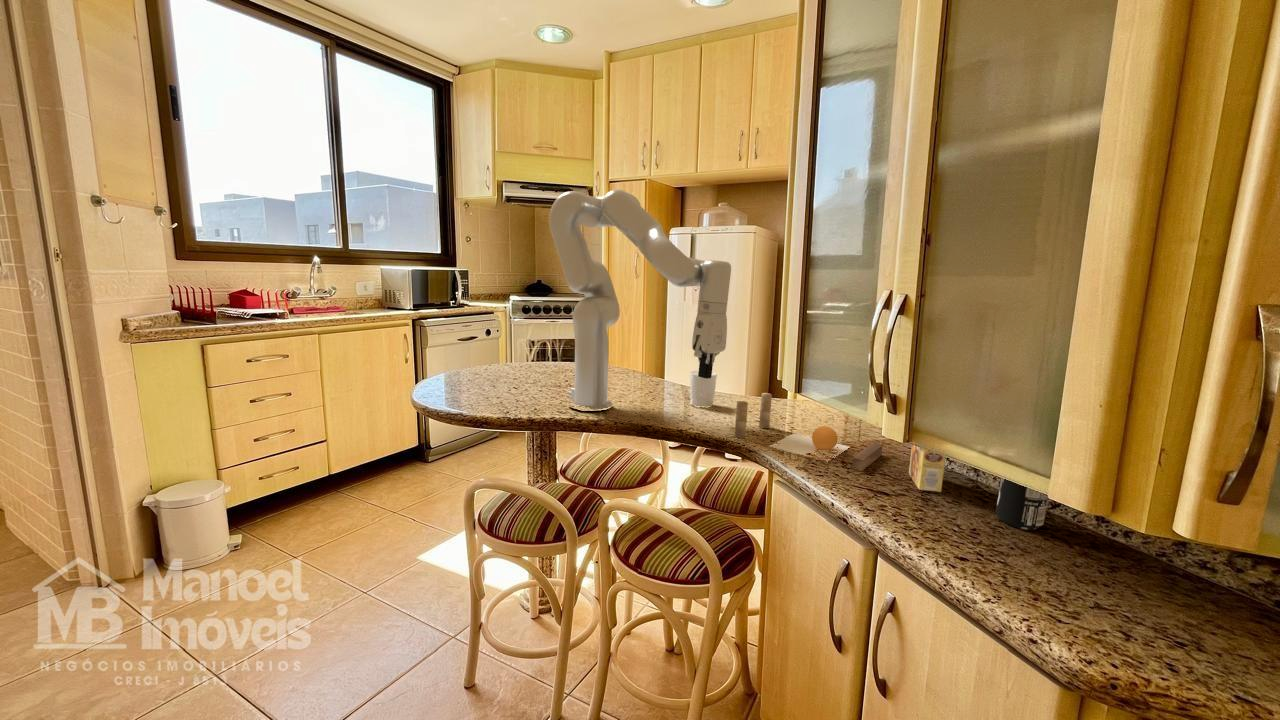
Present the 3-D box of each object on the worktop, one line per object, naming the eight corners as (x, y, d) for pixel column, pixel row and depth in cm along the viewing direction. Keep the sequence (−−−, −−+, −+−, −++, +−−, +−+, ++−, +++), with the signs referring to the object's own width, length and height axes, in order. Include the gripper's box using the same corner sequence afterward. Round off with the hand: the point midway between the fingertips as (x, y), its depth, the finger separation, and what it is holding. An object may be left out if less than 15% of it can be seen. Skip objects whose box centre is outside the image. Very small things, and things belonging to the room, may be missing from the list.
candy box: (942, 493, 99) (953, 415, 96) (917, 490, 100) (928, 413, 97) (928, 476, 107) (938, 403, 105) (906, 473, 108) (915, 401, 106)
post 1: (732, 438, 127) (734, 402, 125) (737, 435, 129) (740, 400, 127) (741, 440, 125) (744, 404, 124) (747, 438, 127) (749, 402, 126)
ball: (811, 453, 120) (805, 430, 120) (820, 448, 124) (815, 425, 124) (834, 452, 116) (829, 427, 117) (843, 446, 121) (838, 422, 121)
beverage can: (997, 509, 93) (1007, 445, 91) (1043, 521, 89) (1055, 454, 87) (992, 522, 88) (1004, 454, 86) (1041, 535, 84) (1054, 464, 81)
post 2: (757, 427, 136) (759, 394, 135) (761, 425, 138) (764, 392, 137) (766, 429, 135) (769, 395, 133) (770, 427, 137) (773, 394, 135)
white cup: (684, 402, 159) (686, 370, 158) (708, 401, 162) (710, 370, 160) (694, 409, 152) (696, 376, 150) (719, 408, 154) (721, 375, 153)
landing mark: (768, 446, 121) (768, 446, 121) (794, 434, 132) (794, 433, 132) (828, 462, 113) (828, 461, 113) (850, 447, 123) (850, 446, 123)
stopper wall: (851, 469, 109) (852, 457, 109) (872, 452, 120) (873, 442, 120) (861, 471, 108) (862, 460, 108) (881, 455, 119) (882, 444, 118)
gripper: (708, 311, 128) (700, 383, 131) (739, 310, 139) (731, 377, 142) (683, 307, 132) (676, 377, 136) (715, 306, 144) (708, 371, 147)
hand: (704, 377), depth 139 cm, fingers closed
